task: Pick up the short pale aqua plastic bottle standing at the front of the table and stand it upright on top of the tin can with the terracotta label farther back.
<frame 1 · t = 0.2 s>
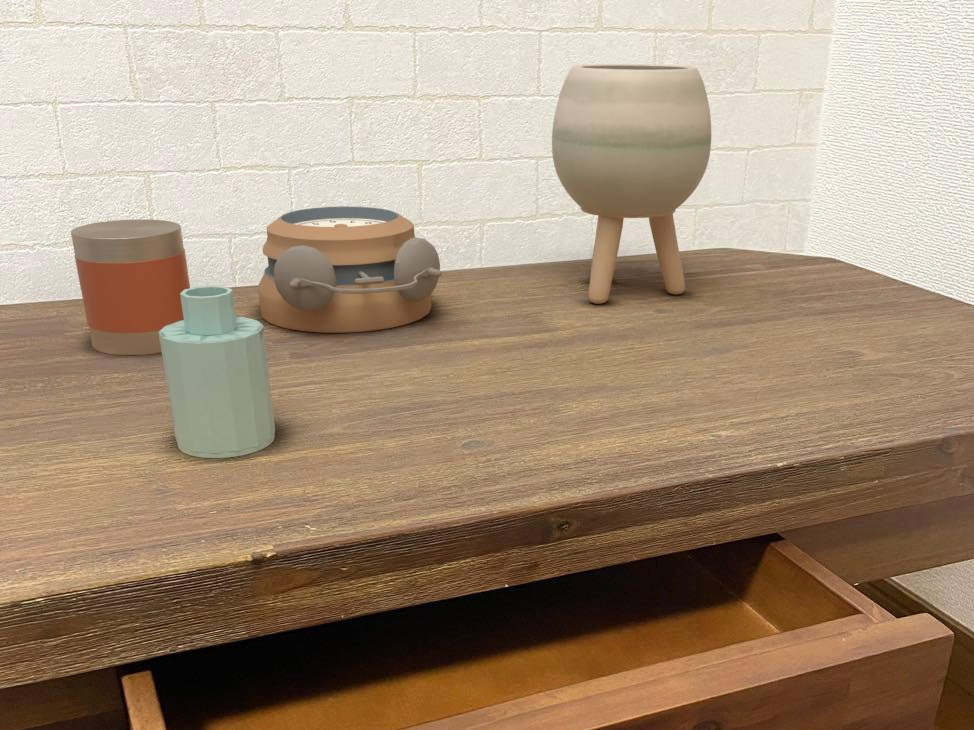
bottle: (226, 440, 73), on the table
tin can: (145, 340, 95), on the table
alarm clock: (354, 319, 103), on the table
planter: (624, 294, 113), on the table
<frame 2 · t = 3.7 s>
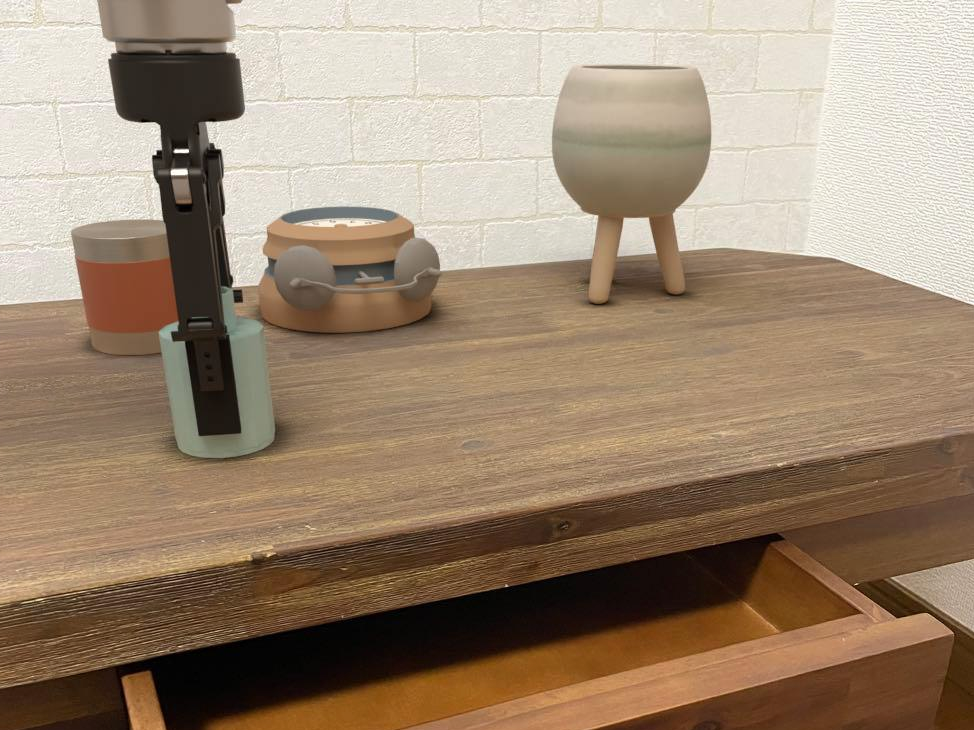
hand: (223, 413, 72), 2 cm above the table, tool pointing down, fingers closed on bottle, 7 cm apart
bottle: (226, 440, 73), on the table, touching gripper
everything else where it was.
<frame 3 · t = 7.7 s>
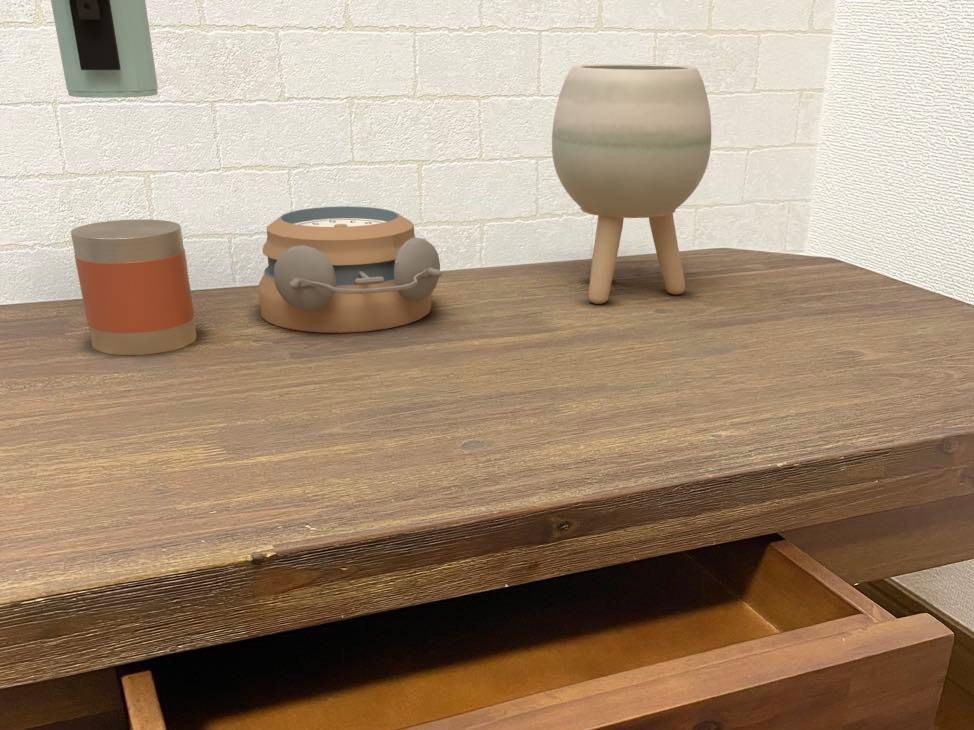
hand: (108, 66, 81), 23 cm above the table, tool pointing down, fingers closed on bottle, 7 cm apart
bottle: (113, 94, 82), point 21 cm above the table, touching gripper
everything else where it was.
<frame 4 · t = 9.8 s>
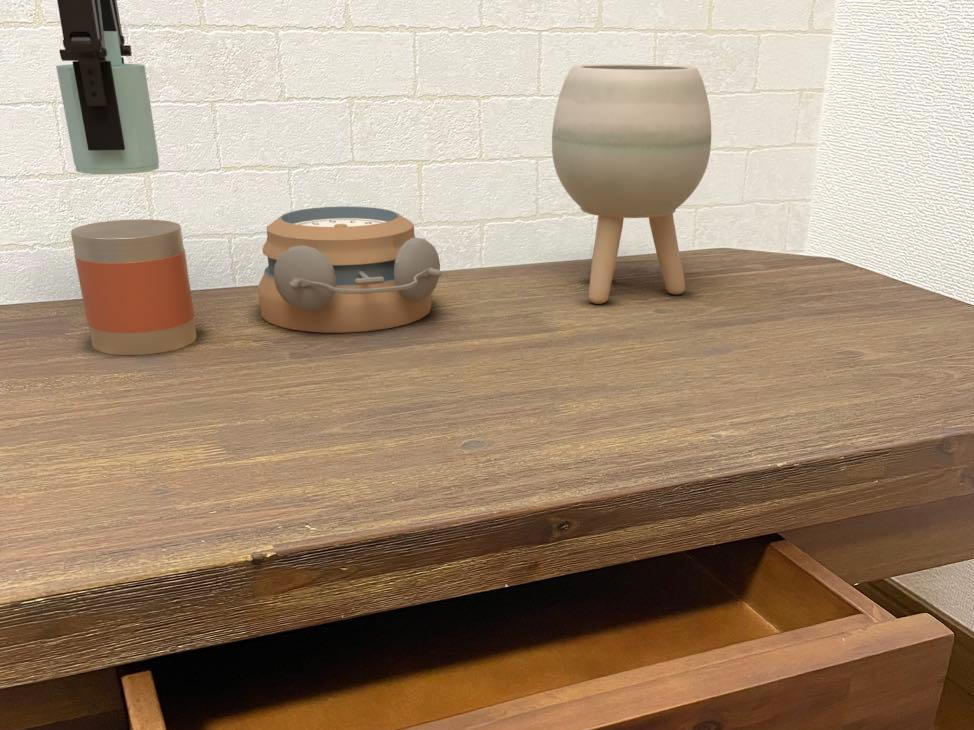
hand: (113, 144, 87), 17 cm above the table, tool pointing down, fingers closed on bottle, 7 cm apart
bottle: (118, 169, 88), point 15 cm above the table, touching gripper
everything else where it was.
when the fingers open (12 cm above the table, at t = 11.5 s): bottle stays where it is, resting on tin can.
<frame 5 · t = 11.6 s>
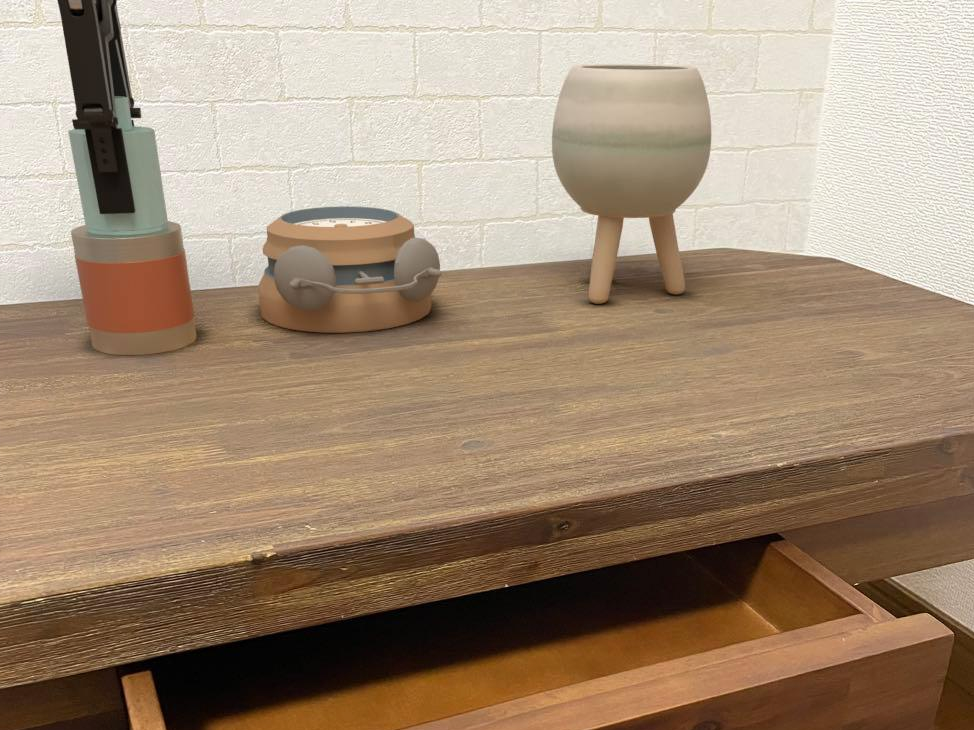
hand: (123, 205, 90), 12 cm above the table, tool pointing down, fingers open, 7 cm apart
bottle: (127, 228, 90), point 10 cm above the table, touching tin can
tin can: (145, 340, 95), on the table, touching bottle
everything else where it was.
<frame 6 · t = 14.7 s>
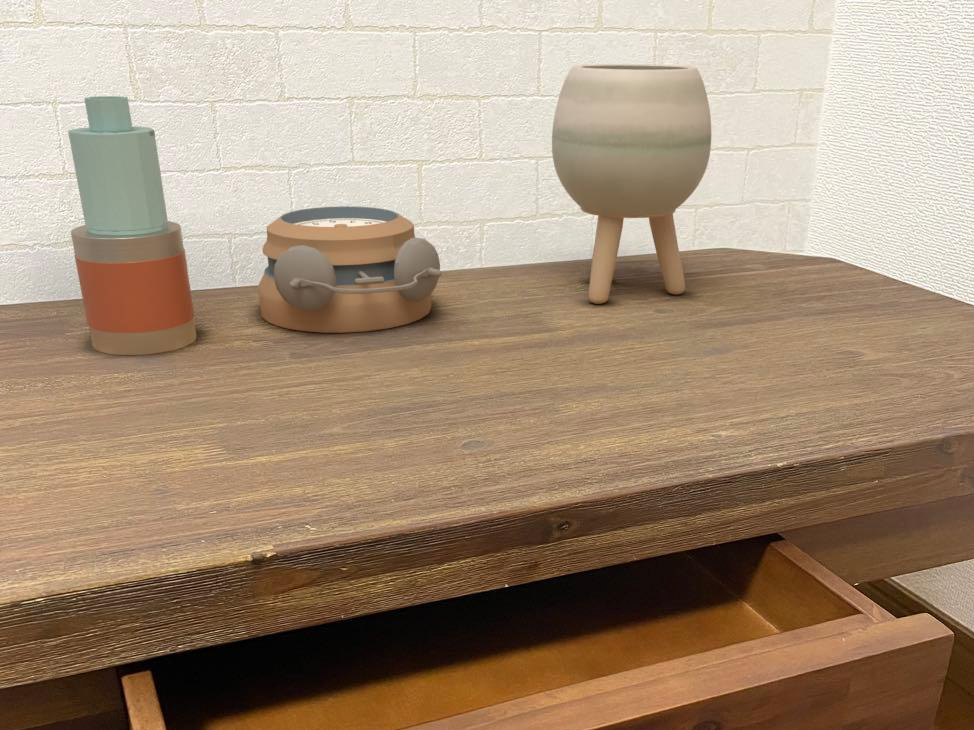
nothing on the table moved.
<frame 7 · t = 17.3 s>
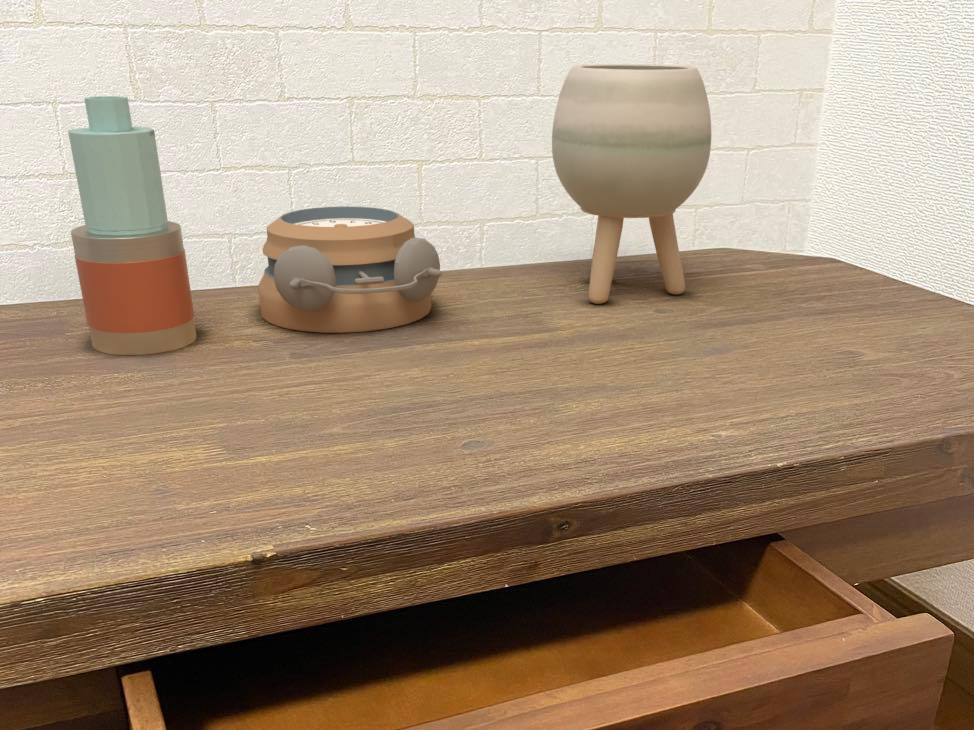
nothing on the table moved.
at the end: bottle 0.1 cm off-centre on the tin can, point 10.0 cm above the tin can's base; bottle tilted 0°; the gripper is holding nothing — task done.
